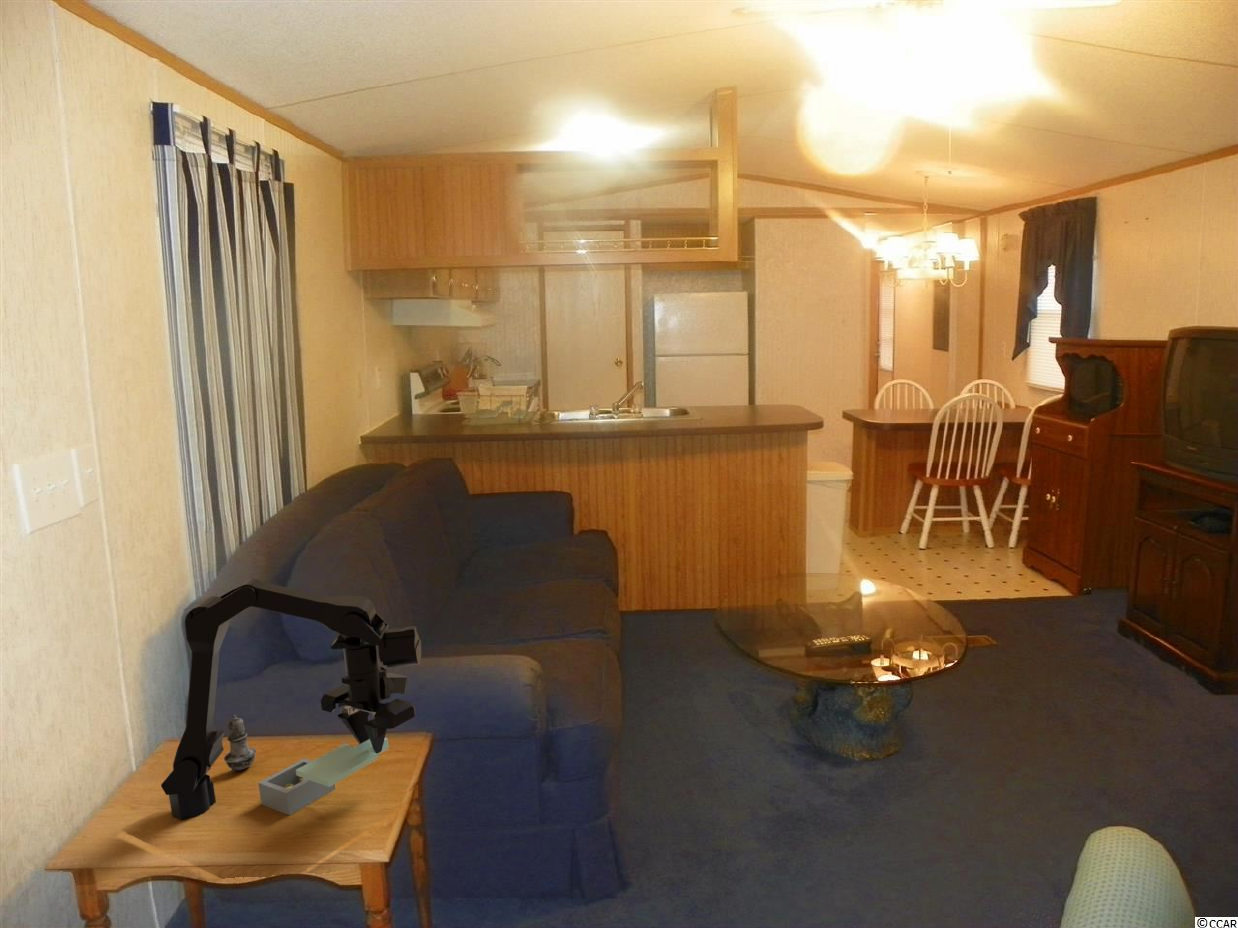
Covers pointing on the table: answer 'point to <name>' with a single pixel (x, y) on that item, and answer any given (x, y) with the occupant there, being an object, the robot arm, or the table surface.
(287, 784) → the part
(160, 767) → the table surface
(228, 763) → the grey upright turned figure
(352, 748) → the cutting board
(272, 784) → the tub
